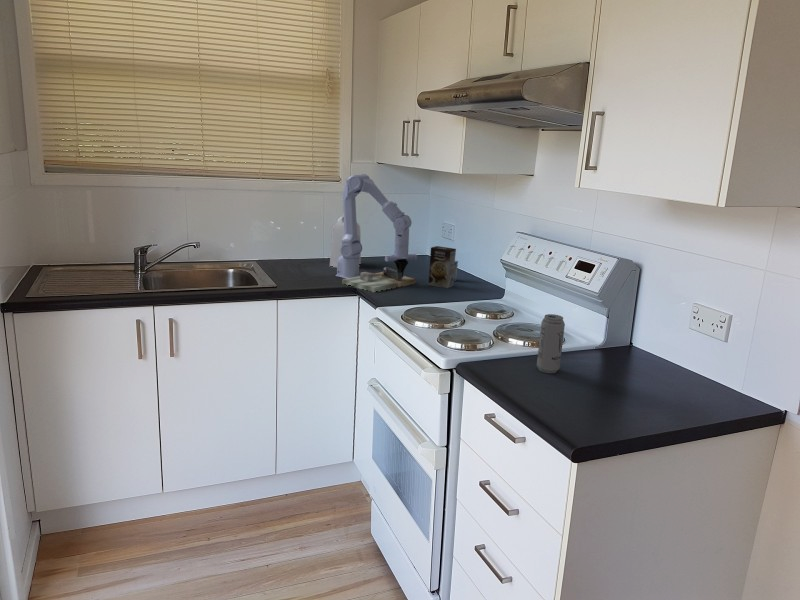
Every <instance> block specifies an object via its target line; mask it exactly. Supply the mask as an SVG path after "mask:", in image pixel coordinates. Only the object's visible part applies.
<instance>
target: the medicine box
mask: <svg viewBox="0 0 800 600" xmlns="http://www.w3.org/2000/svg"><path fill="white" fill-rule="evenodd" d="M458 264H459V261H458V260H455V265H454V278H453V283H454V282H456V281H457V278H458V266H459V265H458Z"/></svg>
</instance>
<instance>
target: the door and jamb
mask: <svg viewBox="0 0 800 600" xmlns="http://www.w3.org/2000/svg"><path fill="white" fill-rule="evenodd" d="M341 279H342V282H341V284H342V285H344V284H346V285H345V286H348V285H351V286H354V287H353V288H355V289H358V290H362V289H364V291H366V290H368V291H367V292H370V291H371V292H370V293H377V292H376V291H378V292H382V291H381V290H383V291H386V289H388V290H391V288H392V289H396V287H397V288H401V286H402V287H406V286H410V284H411V285H414V284H416V281H417V280H416V278H414V277H410V276H409V277H408V276H406V275H403V278H402V279H396V278H393V277H390V276H388V275H384V274H383V271H381V272H374V273H372V272H369V271H364V272H363V271H362V272H360V276H358V277H352V278H347V279H345V278H341ZM351 286H350V287H351Z"/></svg>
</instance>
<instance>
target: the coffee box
mask: <svg viewBox="0 0 800 600" xmlns="http://www.w3.org/2000/svg"><path fill="white" fill-rule="evenodd" d="M456 252H457V248H453V247H452V248H451V247H445V246H440V245H439V246H438V245H436V246H432V247H430V257H429V269H428V270H429V272H428V286H431V287H438V288H445V289H449V288H452V287H454V281H453V278H454V265H455V261H456Z"/></svg>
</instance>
